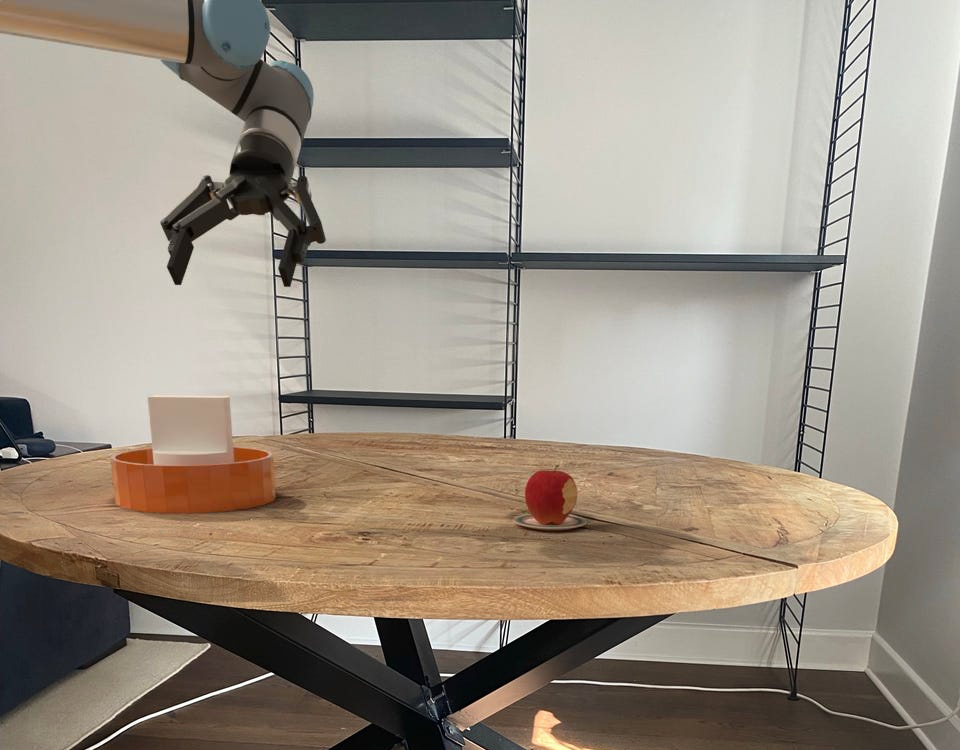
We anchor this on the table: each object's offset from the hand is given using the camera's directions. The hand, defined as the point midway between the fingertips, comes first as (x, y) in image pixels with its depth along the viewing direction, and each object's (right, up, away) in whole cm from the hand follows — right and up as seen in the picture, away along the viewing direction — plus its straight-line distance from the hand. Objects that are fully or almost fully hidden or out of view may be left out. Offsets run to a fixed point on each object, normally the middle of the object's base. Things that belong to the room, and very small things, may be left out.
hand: (228, 277), depth 108 cm
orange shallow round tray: (-4, -27, 0) cm, 27 cm away
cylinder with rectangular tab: (-4, -27, 0) cm, 27 cm away
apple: (+37, -30, -7) cm, 49 cm away
